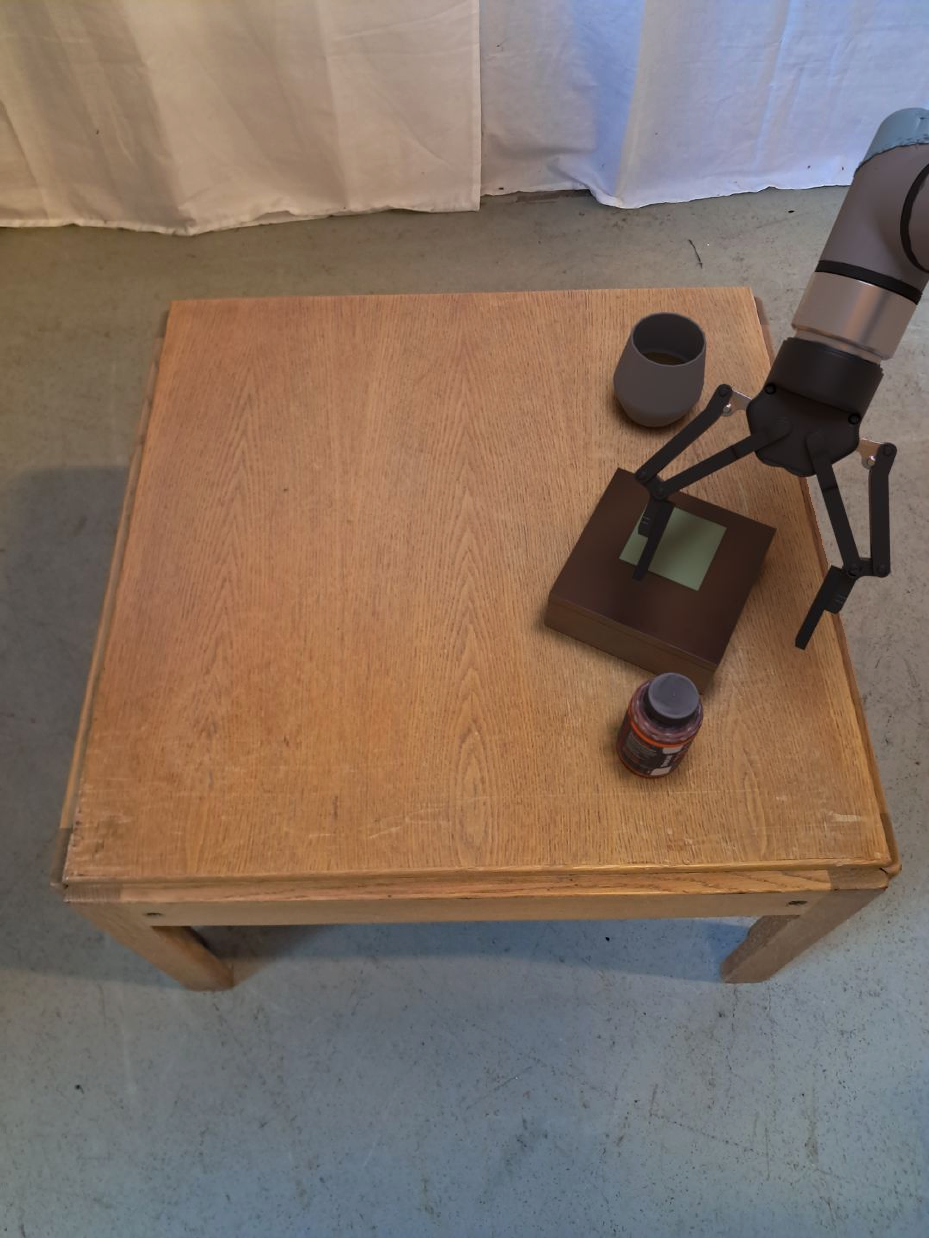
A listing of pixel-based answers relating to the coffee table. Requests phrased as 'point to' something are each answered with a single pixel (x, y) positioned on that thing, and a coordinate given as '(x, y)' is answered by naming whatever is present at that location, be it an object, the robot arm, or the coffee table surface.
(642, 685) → the supplement bottle
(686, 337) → the cup
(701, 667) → the dark wooden box
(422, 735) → the coffee table surface
